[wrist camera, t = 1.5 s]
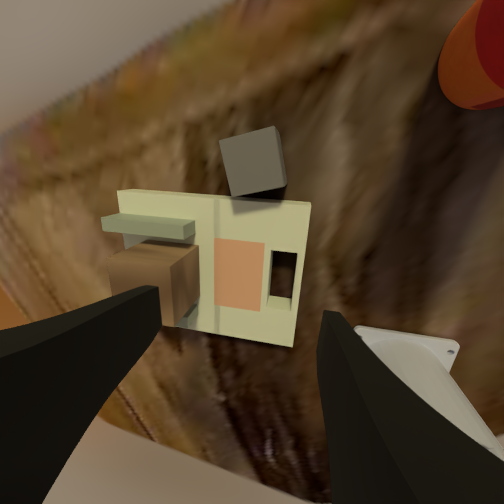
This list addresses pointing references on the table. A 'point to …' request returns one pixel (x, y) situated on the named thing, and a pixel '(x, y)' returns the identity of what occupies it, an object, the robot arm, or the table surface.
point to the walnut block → (159, 274)
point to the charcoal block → (254, 161)
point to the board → (225, 255)
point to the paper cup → (475, 58)
